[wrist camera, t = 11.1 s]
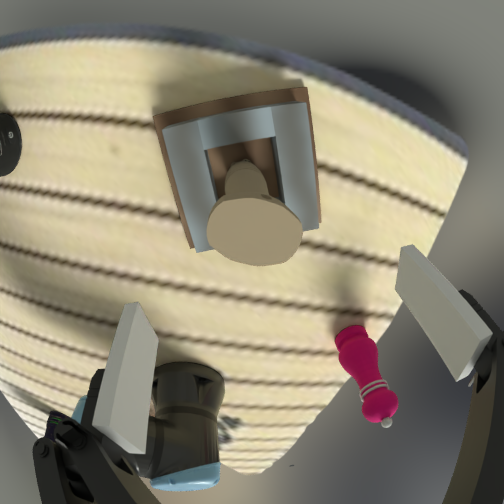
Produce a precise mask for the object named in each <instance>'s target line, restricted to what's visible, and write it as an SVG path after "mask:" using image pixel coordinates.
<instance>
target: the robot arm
mask: <svg viewBox="0 0 504 504" xmlns="http://www.w3.org/2000/svg"><path fill="white" fill-rule="evenodd" d="M395 290H396V292H397V293H398V294H399V296H400V297H401V299H402V300H403V301H404V303H405V304H406V305H407V307H408V308H409V310H410V311H411V313H412V314H413V315H414V317H415V318H416V320H417V321H418V323H419V324H420V325H421V327H422V328H423V330H424V331H425V333H426V334H427V336H428V337H429V339H430V340H431V342H432V343H433V345H434V347H435V348H436V349H437V351H438V353H439V354H440V356H441V357H442V359H443V361H444V362H445V364H446V366H447V367H448V369H449V370H450V372H451V374H452V375H453V377H454V379H455V380H456V382H457V381H459V380H460V379H462V378H464V377H466V376H468V375H469V374H470V372H471V370H472V369H473V367H474V368H475V369H476V373H475V375H474V376H473V378H472V379H471V381H470V382H469V385H468V386H471V384H472V383H473V381H474V384H473V391H472V398H471V404H470V410H469V415H468V420H467V425H466V429H465V434H464V438H463V442H462V446H461V450H460V453H459V457H458V460H457V463H456V467H455V470H454V473H453V476H452V479H451V482H450V485H449V487H448V490H447V493H446V495H445V498H444V500H443V503H442V504H502V503H503V499H504V331H503V332H502V331H501V330H500V328H499V327H498V326H497V325H496V323H495V322H494V321H493V320H492V319H491V317H490V316H489V315H488V314H487V313H486V311H485V310H483V308H482V307H481V306H480V304H478V302H477V301H476V300H475V299H474V298H473V296H472V295H470V294H469V293H467V292H466V291H464V290H460V291H457V290H456V289H455V288H454V286H453V285H452V284H451V283H450V282H449V281H448V280H447V279H446V278H445V277H444V276H443V274H442V273H441V272H440V271H439V270H438V269H437V268H436V267H435V266H434V265H433V264H432V263H431V262H430V261H429V260H428V259H427V258H426V257H425V256H424V255H423V254H422V253H421V252H420V251H419V250H418V249H417V248H416V247H415V246H414V245H413V244H412V245H408V246H404V247H401V251H400V259H399V266H398V273H397V279H396V286H395ZM158 342H159V339H158V337H157V335H156V334H155V332H154V330H153V328H152V326H151V325H150V323H149V321H148V319H147V317H146V315H145V313H144V312H143V310H142V308H141V306H140V304H139V302H134V303H128V304H125V306H124V309H123V311H122V315H121V318H120V321H119V324H118V327H117V330H116V333H115V337H114V340H113V343H112V347H111V350H110V353H109V357H108V361H107V364H106V368H105V369H98V370H97V371H96V373H95V374H94V376H93V377H92V379H91V383H90V386H89V390H88V394H87V395H84V396H82V397H81V398H80V399H79V401H78V403H77V405H76V408H75V410H74V412H73V414H72V417H71V418H64V419H62V420H61V421H60V422H59V423H58V424H57V425H56V427H55V429H54V439H55V441H57V442H53V441H51V440H50V439H49V438H46V437H42V438H39V439H38V440H37V441H36V442H35V444H34V446H33V459H34V466H35V472H36V478H37V482H38V487H39V492H40V497H41V501H42V504H161V503H160V502H159V501H158V500H157V499H156V497H155V496H154V495H153V494H152V493H151V491H150V490H149V489H148V488H147V486H146V485H145V484H144V483H143V481H142V480H141V479H140V478H139V476H140V477H145V478H149V479H150V483H151V486H152V487H153V488H155V489H159V490H167V491H193V490H201V489H206V488H210V487H213V486H215V485H216V484H217V483H218V482H219V479H220V465H221V462H220V459H219V445H218V428H217V415H218V412H219V409H220V406H221V404H222V401H223V398H224V394H225V386H224V380H223V378H222V377H221V375H220V374H218V373H217V372H216V371H214V370H213V369H211V368H208V367H206V366H203V365H199V364H195V363H186V362H176V363H169V364H165V365H162V366H160V367H158V368H156V369H155V362H156V355H157V349H158ZM154 369H155V370H154ZM151 396H152V400H153V404H154V408H155V417H153V416H150V415H149V409H150V400H151Z"/></svg>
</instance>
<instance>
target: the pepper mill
mask: <svg viewBox="0 0 504 504" xmlns="http://www.w3.org/2000/svg"><path fill="white" fill-rule="evenodd" d="M335 344H336V347H337V349H338V351H339V352H340V353H339V362H340V364H341V365H342V367H343V368H344V369H345V371H347V372H348V373H349V374H350V375H351V376H352V377H353V378H354V379H355V380H356V381H357V383H358V385H359V387H360V392H359V396H360V397H361V401H363V402H364V403H363V405H362V413H363V415H364V417H365V418H366V419H367V420H369V421H370V422H381V424H382V426H383V427H385V428H387V427H390V426H391V424H392V419H391V418H390V417H391V416H392V415H393V414H394V413H395V412H396V410H397V408H398V398H397V396H396V394H395V393H394V392H393V391H390V390H389V386H388V385H387V381H386V380H383V379H382V378H381V375H380V373H379V369H378V350H377V347H376V344H375V342H374V341H373V340H372V339H371V338H368V334H367V332H366V330H365V328H364V327H362V326H359V325H355V326H350V327H348V328H346V329H344V330H342V331H341V332H340V333H339V334H338V335H337V337H336V339H335Z"/></svg>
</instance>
